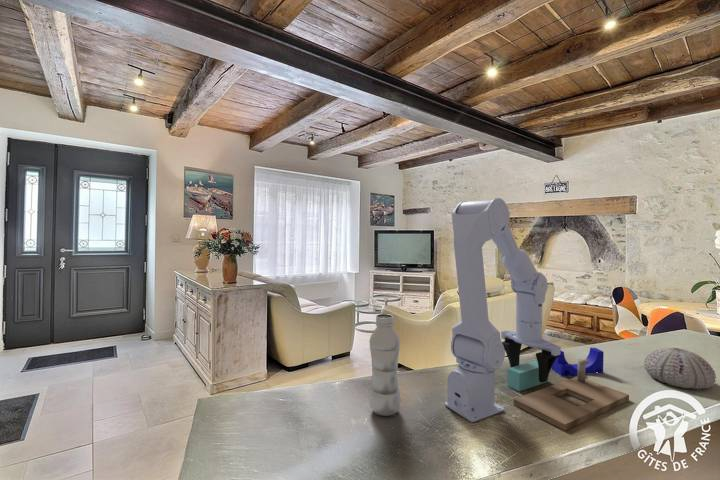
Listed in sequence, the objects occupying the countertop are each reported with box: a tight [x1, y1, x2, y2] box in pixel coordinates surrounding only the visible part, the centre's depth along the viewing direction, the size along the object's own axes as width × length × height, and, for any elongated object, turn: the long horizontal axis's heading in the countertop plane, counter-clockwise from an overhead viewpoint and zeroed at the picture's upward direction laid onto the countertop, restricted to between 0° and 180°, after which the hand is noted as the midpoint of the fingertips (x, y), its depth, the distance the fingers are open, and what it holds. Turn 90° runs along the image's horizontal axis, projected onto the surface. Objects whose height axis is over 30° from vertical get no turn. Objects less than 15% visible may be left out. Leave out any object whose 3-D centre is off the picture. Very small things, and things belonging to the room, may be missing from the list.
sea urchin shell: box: [643, 347, 717, 390], centre depth 85 cm, size 13×14×8 cm
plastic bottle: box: [369, 313, 401, 417], centre depth 71 cm, size 6×7×20 cm
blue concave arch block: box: [551, 347, 604, 377], centre depth 90 cm, size 12×4×6 cm, turn 91°
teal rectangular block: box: [507, 359, 549, 392], centre depth 84 cm, size 11×3×4 cm, turn 118°
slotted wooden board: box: [513, 358, 630, 431], centre depth 75 cm, size 25×11×6 cm, turn 119°
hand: (528, 375), depth 84 cm, fingers open, 7 cm apart
